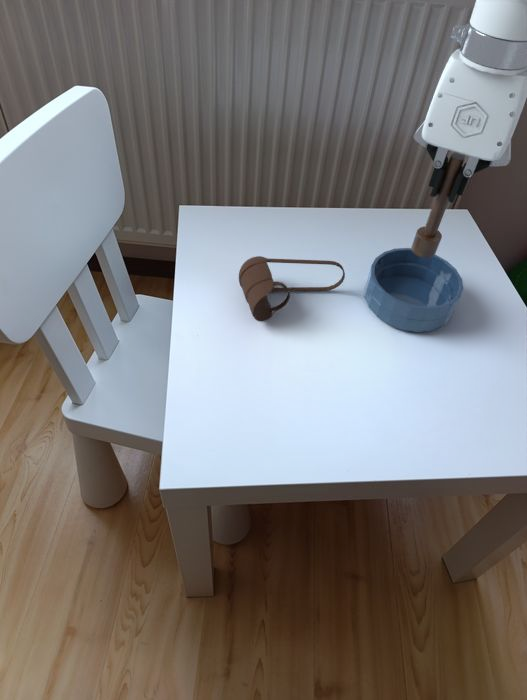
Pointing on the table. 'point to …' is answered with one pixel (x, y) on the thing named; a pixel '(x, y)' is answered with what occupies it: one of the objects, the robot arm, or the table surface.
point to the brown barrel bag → (271, 284)
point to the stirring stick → (437, 211)
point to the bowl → (412, 290)
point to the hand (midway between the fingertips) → (444, 193)
